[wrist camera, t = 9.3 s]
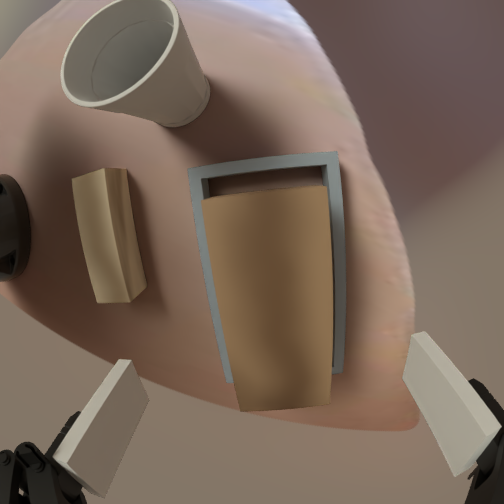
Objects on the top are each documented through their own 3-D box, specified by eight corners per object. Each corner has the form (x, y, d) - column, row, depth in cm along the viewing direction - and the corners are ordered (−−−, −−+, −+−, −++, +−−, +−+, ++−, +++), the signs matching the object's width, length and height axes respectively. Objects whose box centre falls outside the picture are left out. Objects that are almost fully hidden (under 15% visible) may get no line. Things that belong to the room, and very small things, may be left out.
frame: (229, 368, 28) (223, 399, 24) (195, 169, 23) (177, 167, 18) (338, 358, 27) (348, 388, 22) (330, 154, 22) (345, 147, 17)
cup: (126, 97, 22) (47, 61, 10) (189, 46, 20) (141, -23, 8) (166, 152, 23) (88, 136, 11) (236, 99, 21) (208, 34, 10)
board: (244, 380, 23) (240, 411, 19) (214, 196, 19) (200, 200, 15) (322, 373, 22) (329, 404, 18) (314, 185, 18) (326, 186, 14)
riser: (116, 288, 27) (97, 303, 23) (95, 177, 24) (71, 178, 20) (147, 286, 26) (130, 302, 23) (126, 168, 24) (104, 168, 20)
